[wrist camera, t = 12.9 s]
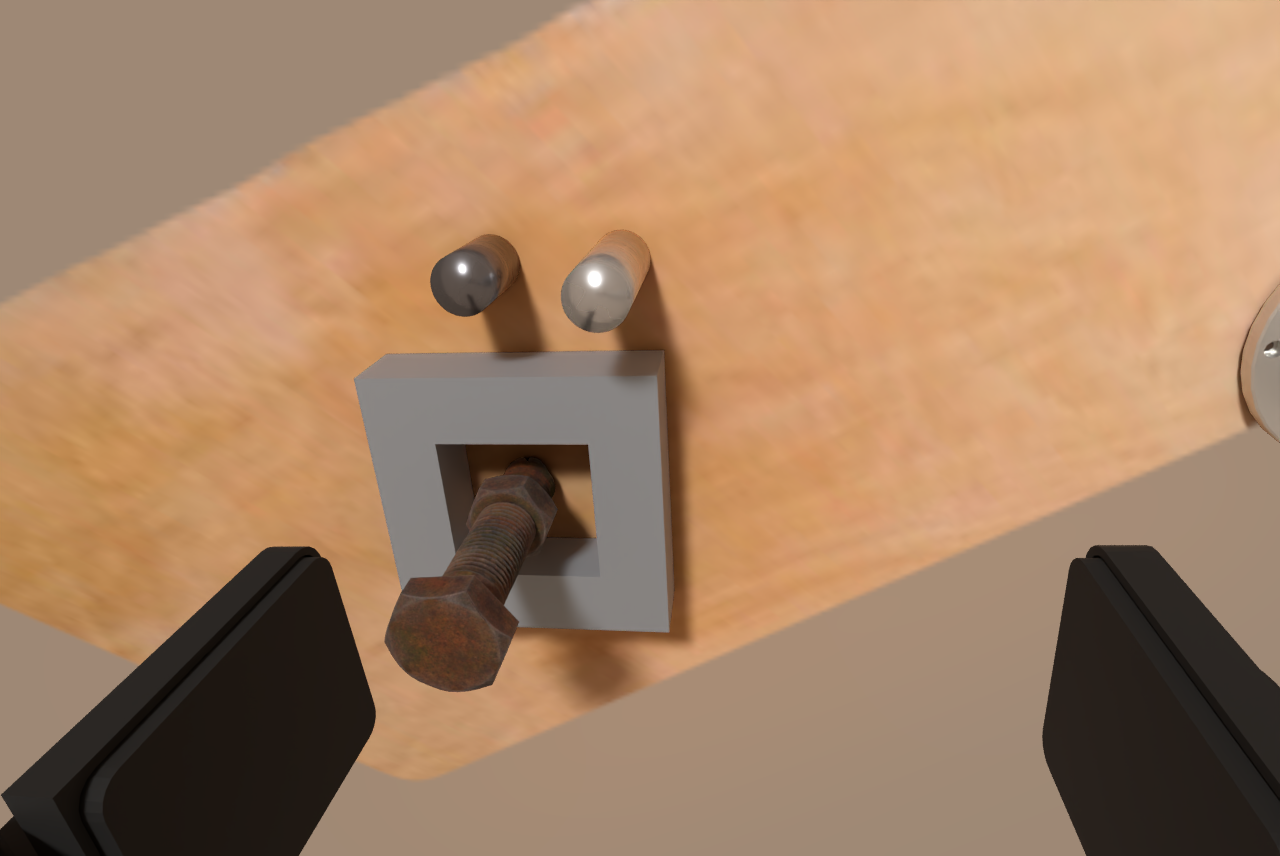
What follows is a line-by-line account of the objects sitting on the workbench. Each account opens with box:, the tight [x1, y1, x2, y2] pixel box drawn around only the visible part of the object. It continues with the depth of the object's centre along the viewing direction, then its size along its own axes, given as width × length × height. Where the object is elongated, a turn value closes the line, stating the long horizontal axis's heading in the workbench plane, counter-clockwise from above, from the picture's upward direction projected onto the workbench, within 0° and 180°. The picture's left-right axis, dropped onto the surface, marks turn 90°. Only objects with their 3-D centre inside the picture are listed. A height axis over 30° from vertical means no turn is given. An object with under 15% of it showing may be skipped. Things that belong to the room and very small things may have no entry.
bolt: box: [385, 457, 558, 692], centre depth 38 cm, size 6×5×15 cm
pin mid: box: [561, 230, 651, 333], centre depth 35 cm, size 3×3×8 cm
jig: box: [354, 350, 674, 632], centre depth 43 cm, size 16×16×4 cm
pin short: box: [430, 234, 520, 317], centre depth 38 cm, size 3×3×5 cm
